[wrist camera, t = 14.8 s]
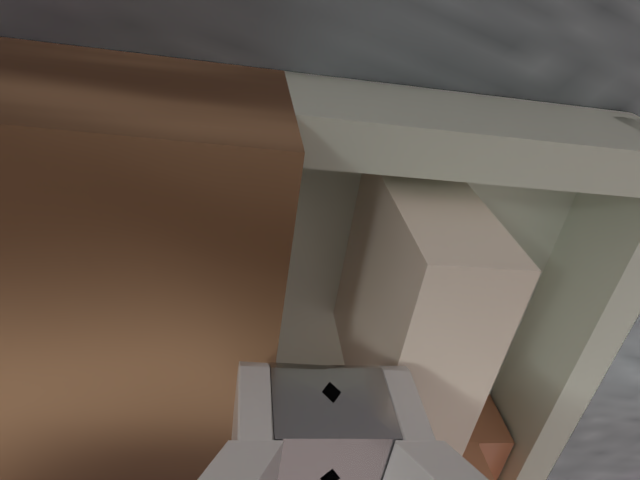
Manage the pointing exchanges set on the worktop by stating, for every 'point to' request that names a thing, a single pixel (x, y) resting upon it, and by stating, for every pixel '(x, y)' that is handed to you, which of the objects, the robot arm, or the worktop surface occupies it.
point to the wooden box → (136, 255)
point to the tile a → (432, 293)
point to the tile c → (492, 437)
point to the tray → (508, 207)
